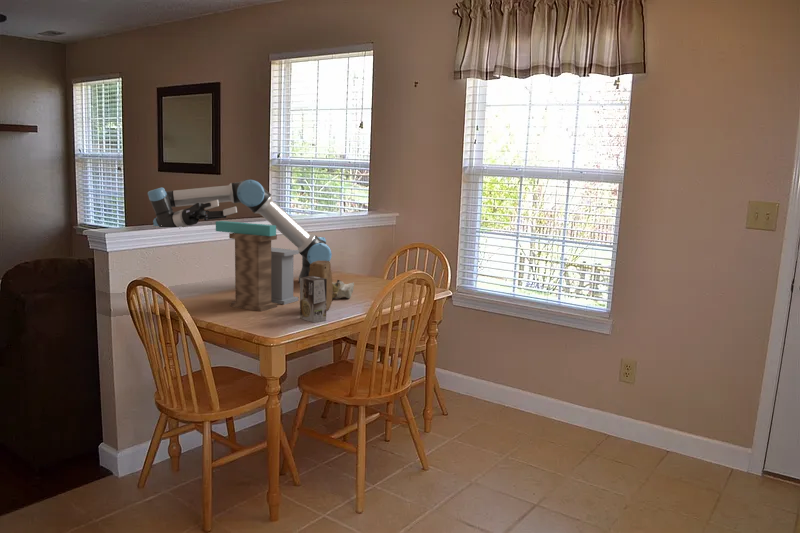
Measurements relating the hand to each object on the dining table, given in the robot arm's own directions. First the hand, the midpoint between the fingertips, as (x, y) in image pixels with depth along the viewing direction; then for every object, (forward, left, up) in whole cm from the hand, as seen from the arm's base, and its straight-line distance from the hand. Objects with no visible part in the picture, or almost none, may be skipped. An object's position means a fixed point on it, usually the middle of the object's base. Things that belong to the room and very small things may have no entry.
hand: (227, 206), depth 267 cm
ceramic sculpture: (-46, +13, -40) cm, 62 cm away
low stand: (-19, +12, -40) cm, 46 cm away
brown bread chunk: (-35, +33, -40) cm, 62 cm away
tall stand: (-9, +23, -40) cm, 47 cm away
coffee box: (-29, +49, -40) cm, 69 cm away
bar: (-6, +20, -10) cm, 23 cm away
